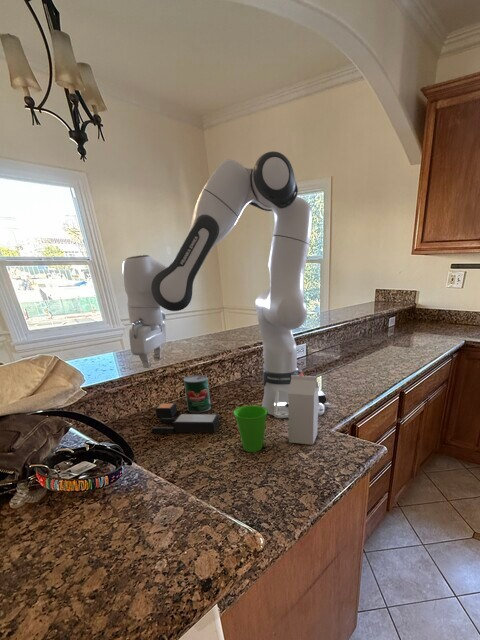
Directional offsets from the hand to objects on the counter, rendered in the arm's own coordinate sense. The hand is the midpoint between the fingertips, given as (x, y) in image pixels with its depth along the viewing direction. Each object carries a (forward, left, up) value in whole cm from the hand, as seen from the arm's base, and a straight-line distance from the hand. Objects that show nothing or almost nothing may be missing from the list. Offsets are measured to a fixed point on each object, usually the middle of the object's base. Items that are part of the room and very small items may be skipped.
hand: (152, 363), depth 109 cm
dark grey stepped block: (-11, +8, -18) cm, 22 cm away
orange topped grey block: (-1, -2, -18) cm, 18 cm away
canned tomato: (-10, -8, -18) cm, 22 cm away
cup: (-33, +21, -18) cm, 43 cm away
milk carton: (-47, +15, -18) cm, 52 cm away
